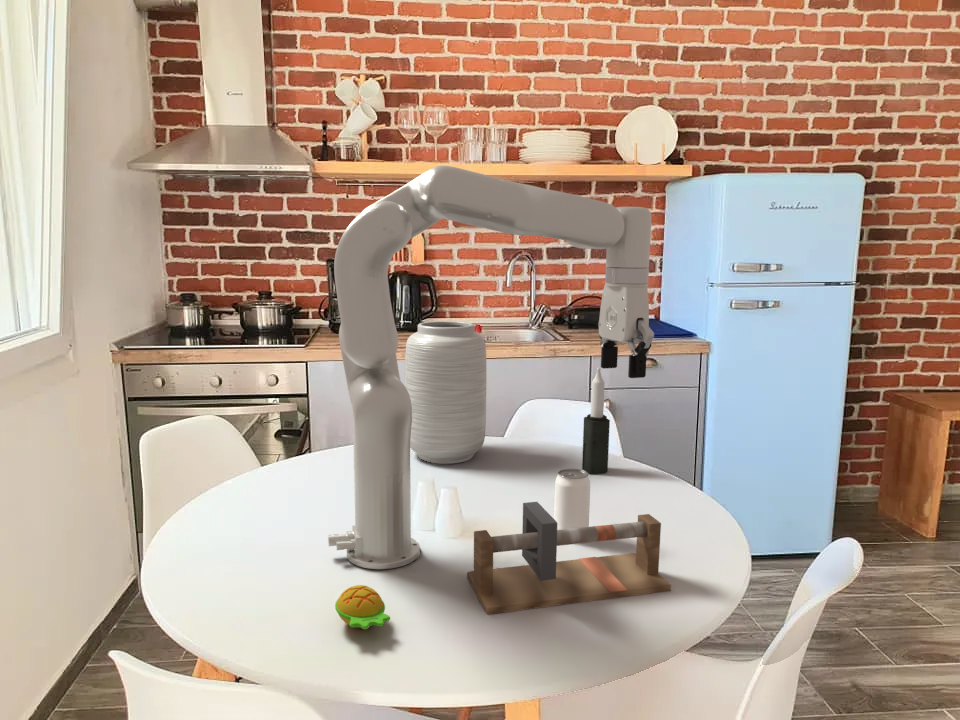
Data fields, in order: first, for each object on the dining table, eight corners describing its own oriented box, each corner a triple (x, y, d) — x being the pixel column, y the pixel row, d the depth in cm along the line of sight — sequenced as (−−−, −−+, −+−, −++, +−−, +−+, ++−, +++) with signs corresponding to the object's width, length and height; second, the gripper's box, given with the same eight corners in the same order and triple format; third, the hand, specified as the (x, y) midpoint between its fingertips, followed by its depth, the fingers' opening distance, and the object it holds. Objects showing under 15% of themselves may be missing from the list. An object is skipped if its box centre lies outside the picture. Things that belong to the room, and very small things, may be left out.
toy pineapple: (374, 605, 108) (374, 572, 107) (398, 638, 99) (397, 602, 98) (329, 616, 105) (328, 581, 104) (349, 651, 96) (348, 613, 95)
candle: (580, 468, 174) (584, 366, 169) (599, 466, 175) (603, 365, 171) (589, 474, 169) (593, 370, 165) (609, 473, 170) (613, 369, 166)
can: (587, 543, 131) (589, 480, 129) (551, 540, 132) (553, 477, 130) (589, 529, 137) (591, 469, 135) (555, 526, 138) (557, 466, 136)
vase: (452, 440, 197) (453, 317, 191) (501, 457, 181) (504, 325, 176) (390, 453, 184) (388, 323, 178) (437, 473, 169) (437, 331, 163)
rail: (487, 614, 106) (487, 552, 104) (467, 577, 117) (467, 521, 115) (670, 590, 113) (673, 532, 112) (635, 558, 125) (637, 505, 123)
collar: (540, 580, 109) (542, 524, 107) (521, 555, 117) (523, 502, 116) (555, 578, 109) (557, 522, 108) (535, 554, 118) (537, 501, 116)
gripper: (585, 275, 135) (581, 365, 137) (634, 280, 119) (629, 382, 121) (620, 275, 137) (616, 363, 140) (673, 280, 121) (667, 380, 124)
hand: (622, 372), depth 131 cm, fingers open, 9 cm apart
